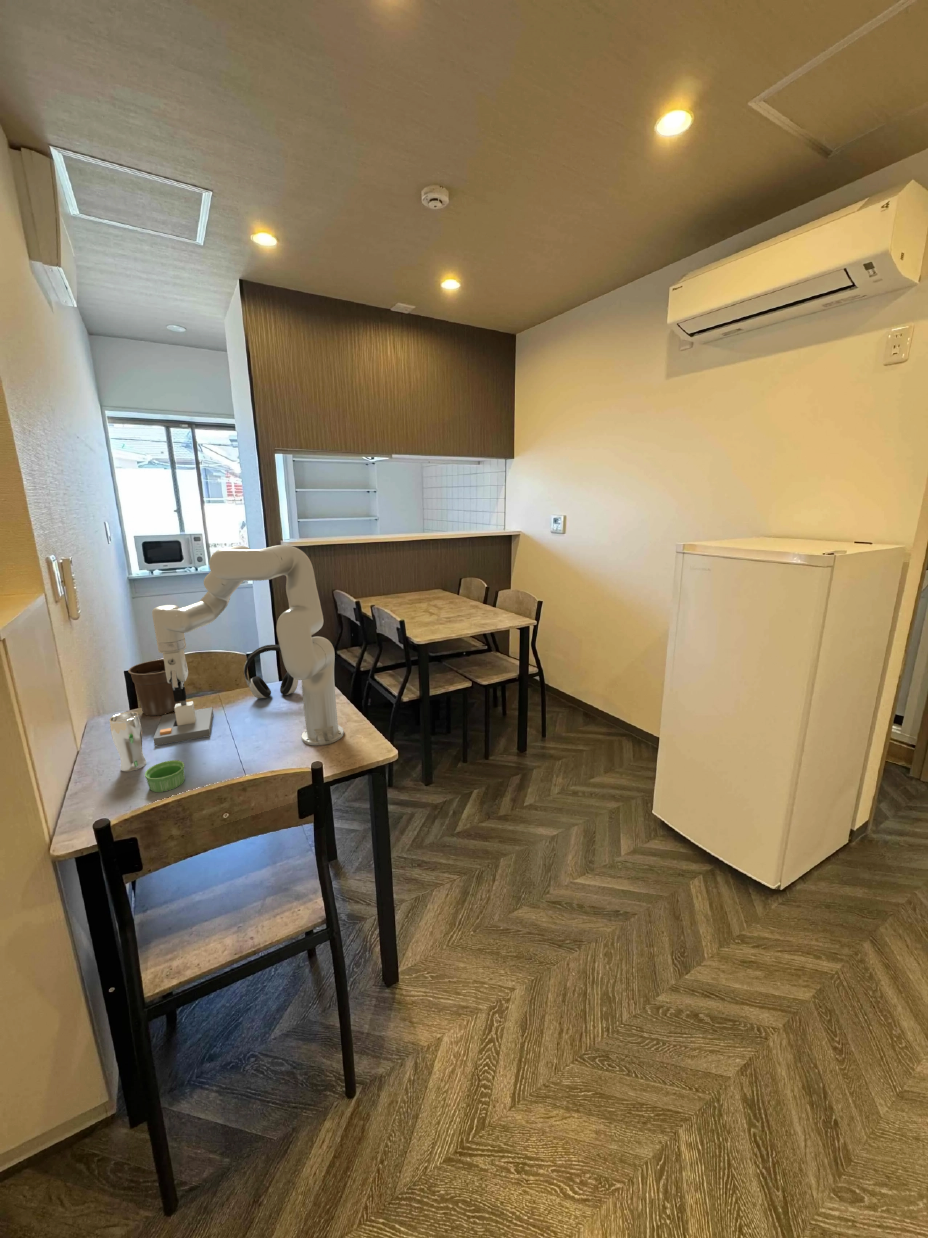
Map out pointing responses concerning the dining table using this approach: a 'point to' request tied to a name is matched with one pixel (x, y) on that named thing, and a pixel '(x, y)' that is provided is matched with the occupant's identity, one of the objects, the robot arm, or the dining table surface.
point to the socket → (183, 727)
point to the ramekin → (165, 775)
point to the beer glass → (128, 740)
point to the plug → (185, 713)
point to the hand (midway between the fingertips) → (180, 700)
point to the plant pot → (153, 687)
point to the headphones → (259, 685)
